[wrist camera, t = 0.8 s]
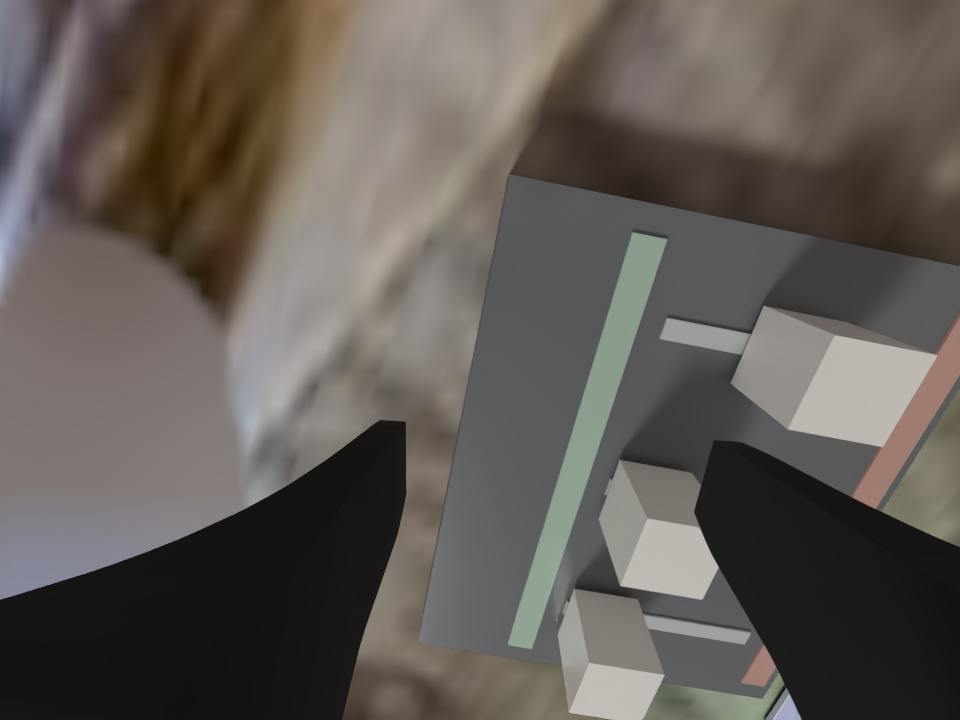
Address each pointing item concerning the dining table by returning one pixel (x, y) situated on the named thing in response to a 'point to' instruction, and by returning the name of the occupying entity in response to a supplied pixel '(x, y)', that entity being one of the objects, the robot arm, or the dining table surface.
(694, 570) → the block
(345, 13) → the dining table surface
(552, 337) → the panel
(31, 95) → the dining table surface
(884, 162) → the dining table surface
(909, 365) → the block
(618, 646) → the block
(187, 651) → the robot arm
